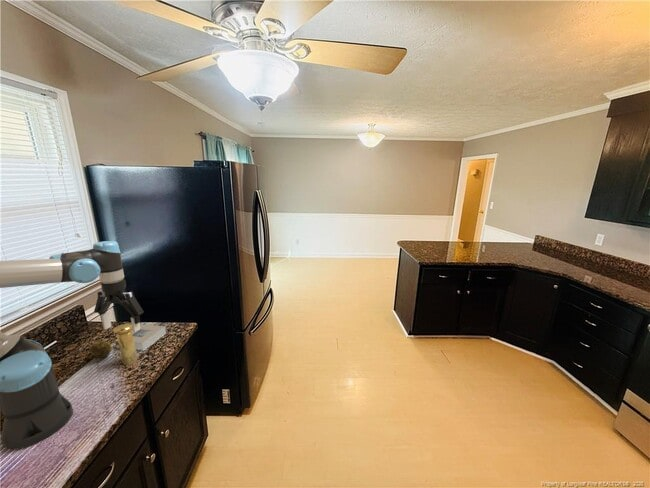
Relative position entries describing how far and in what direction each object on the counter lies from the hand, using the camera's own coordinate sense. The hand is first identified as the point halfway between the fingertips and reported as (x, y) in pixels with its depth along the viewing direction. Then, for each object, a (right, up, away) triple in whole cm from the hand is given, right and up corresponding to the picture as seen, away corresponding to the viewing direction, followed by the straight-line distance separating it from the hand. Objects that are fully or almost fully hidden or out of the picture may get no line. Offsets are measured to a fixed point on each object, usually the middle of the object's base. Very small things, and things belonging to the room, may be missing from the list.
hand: (122, 329), depth 108 cm
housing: (-4, -11, +18) cm, 22 cm away
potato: (-15, -14, +8) cm, 22 cm away
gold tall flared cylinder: (0, -15, +4) cm, 15 cm away
